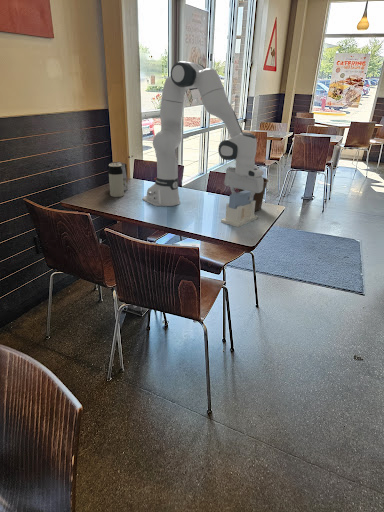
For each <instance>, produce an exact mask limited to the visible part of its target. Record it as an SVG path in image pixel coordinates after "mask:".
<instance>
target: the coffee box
mask: <svg viewBox="0 0 384 512" xmlns="http://www.w3.org/2000/svg"><path fill="white" fill-rule="evenodd" d="M113 163H118V164H122V166H121V168H122V170H123V186H124V191H128V189H129V186H128V168H127V167H128V166H127V163H124V162H121V161H113V162H110V164H113Z"/></svg>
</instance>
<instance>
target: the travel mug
mask: <svg viewBox="0 0 384 512" xmlns="http://www.w3.org/2000/svg"><path fill="white" fill-rule="evenodd" d="M121 166H122V164H118V163H113V164H111V163H109V164H108V167H109V168H108V170H107V171H108V182H109V195H110V196H111V197H113V198H121V197H123V196H124V195H125V190H124V186H123V170H122V168H121Z"/></svg>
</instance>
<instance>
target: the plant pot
mask: <svg viewBox="0 0 384 512" xmlns="http://www.w3.org/2000/svg"><path fill="white" fill-rule="evenodd" d="M263 180H264V184H263V191H262V192H260V193H255V195H254V198H253V201H254V200H255V201H256V202H255V211H254V212H257V211H261V210H262V206H263V205H262V204H263V200H264V195H265V192H266V191H265V190H266V189H267V184H268V182H269V180H268V179H267V178H265V177H263ZM241 191H244V190H242V189H238V192H241Z"/></svg>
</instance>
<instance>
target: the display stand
mask: <svg viewBox="0 0 384 512" xmlns="http://www.w3.org/2000/svg"><path fill="white" fill-rule="evenodd" d="M255 202H256V201H255V200H254V201H251V203H249V204H247V205H244V206H241V205H240V206H238V207H237V208H236V209H233V208H229V202H228V203H226V208H225V217H224V218H222V219H220V222H221V223H223V224H227V225H229V226H232V227H235V228H239V227H241V226H244V225H246V224H248V223H250V222H252V221H255V220H257V219H259V215H255V212H256V211H255Z"/></svg>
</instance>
